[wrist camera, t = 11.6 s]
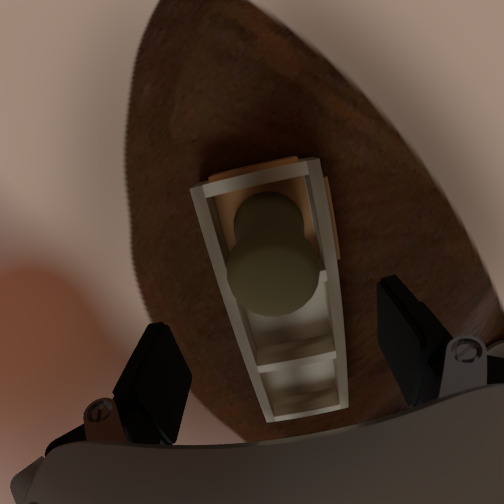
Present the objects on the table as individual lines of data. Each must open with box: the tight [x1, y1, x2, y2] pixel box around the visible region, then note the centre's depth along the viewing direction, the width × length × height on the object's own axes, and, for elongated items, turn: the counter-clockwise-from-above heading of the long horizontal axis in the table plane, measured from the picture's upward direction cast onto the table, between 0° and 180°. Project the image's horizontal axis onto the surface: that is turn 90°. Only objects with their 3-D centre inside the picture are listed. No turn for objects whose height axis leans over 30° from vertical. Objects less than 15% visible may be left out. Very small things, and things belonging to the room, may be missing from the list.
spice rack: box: [190, 156, 348, 422], centre depth 27 cm, size 10×28×4 cm, turn 13°
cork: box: [227, 191, 320, 317], centre depth 20 cm, size 6×6×11 cm
